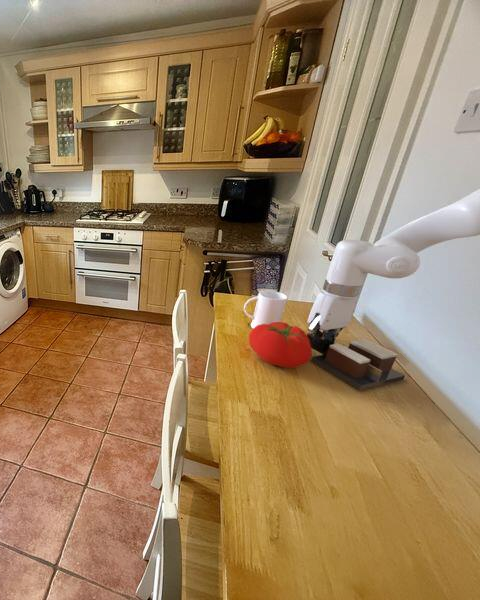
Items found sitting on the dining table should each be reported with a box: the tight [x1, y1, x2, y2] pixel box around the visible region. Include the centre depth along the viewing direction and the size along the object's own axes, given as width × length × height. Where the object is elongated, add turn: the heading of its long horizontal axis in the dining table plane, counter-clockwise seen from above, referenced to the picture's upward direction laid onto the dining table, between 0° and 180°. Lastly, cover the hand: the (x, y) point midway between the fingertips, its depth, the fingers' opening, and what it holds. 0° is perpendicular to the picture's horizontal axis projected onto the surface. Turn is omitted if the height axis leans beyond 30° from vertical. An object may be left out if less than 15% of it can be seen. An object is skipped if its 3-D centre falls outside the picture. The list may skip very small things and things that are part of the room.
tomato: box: [248, 321, 313, 369], centre depth 88 cm, size 14×16×10 cm
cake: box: [347, 338, 399, 372], centre depth 84 cm, size 5×8×5 cm, turn 15°
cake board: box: [310, 354, 406, 391], centre depth 84 cm, size 15×13×2 cm
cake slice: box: [325, 343, 370, 379], centre depth 82 cm, size 3×8×5 cm, turn 15°
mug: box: [243, 290, 288, 330], centre depth 105 cm, size 12×8×12 cm
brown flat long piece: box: [306, 332, 383, 382], centre depth 85 cm, size 19×2×4 cm, turn 15°
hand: (320, 348), depth 90 cm, fingers closed on brown flat long piece, 2 cm apart
